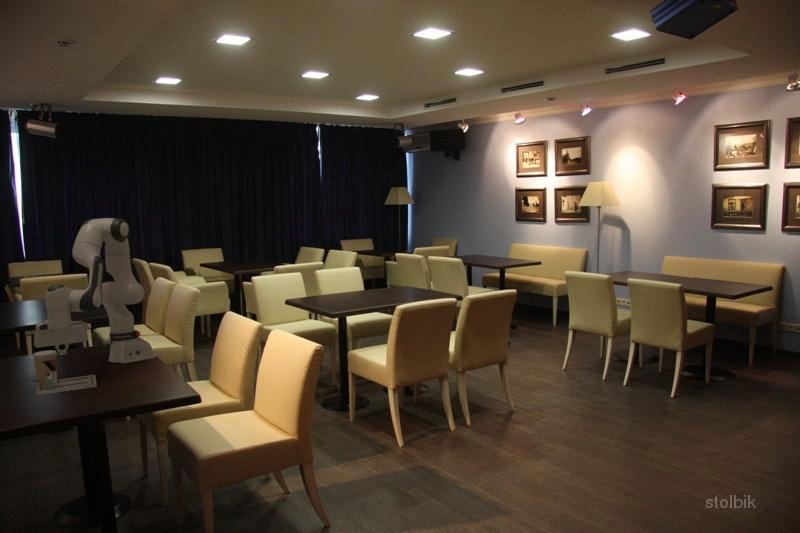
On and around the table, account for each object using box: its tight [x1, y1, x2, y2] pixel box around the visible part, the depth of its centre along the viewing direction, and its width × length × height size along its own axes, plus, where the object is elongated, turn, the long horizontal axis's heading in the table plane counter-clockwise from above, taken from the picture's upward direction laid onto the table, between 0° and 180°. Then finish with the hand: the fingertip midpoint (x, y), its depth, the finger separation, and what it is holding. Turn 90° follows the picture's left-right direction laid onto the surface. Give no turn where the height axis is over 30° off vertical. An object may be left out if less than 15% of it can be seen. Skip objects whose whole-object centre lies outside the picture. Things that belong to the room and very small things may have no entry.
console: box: [36, 373, 98, 396], centre depth 257 cm, size 22×15×2 cm
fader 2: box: [50, 371, 58, 383], centre depth 258 cm, size 2×4×4 cm, turn 29°
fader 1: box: [46, 376, 54, 389], centre depth 251 cm, size 2×4×4 cm, turn 29°
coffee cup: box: [32, 349, 58, 382], centre depth 269 cm, size 9×9×12 cm
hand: (62, 354), depth 259 cm, fingers closed
